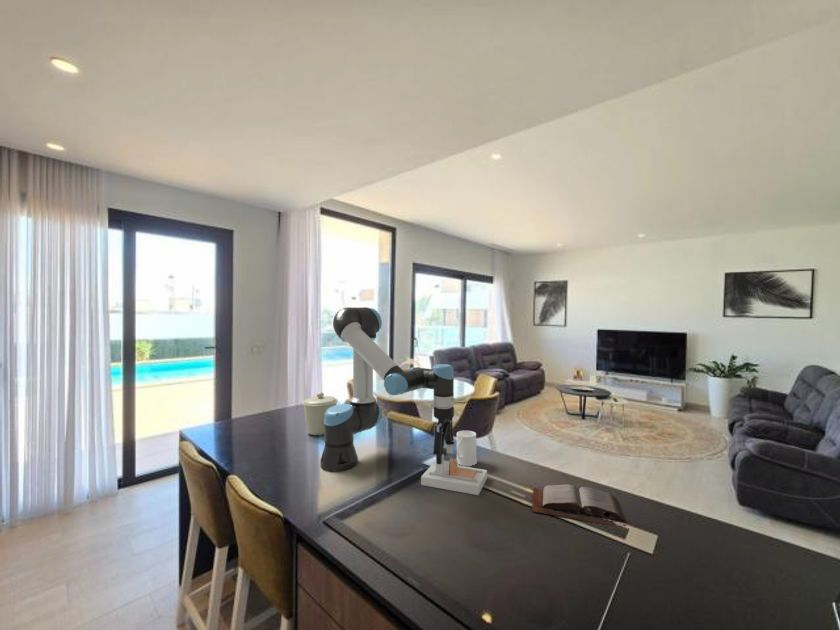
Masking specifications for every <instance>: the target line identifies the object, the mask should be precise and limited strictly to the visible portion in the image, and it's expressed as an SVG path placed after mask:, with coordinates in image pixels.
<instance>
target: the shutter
mask: <svg viewBox="0 0 840 630" xmlns="http://www.w3.org/2000/svg"><path fill="white" fill-rule="evenodd" d="M457 466H458V464H457V458H454V459H452V463H451V464H450V475H451V476H457V477H463V478H469V479H473V477H474V475H475V473H476V471H475V470H468V469H462V468H457Z"/></svg>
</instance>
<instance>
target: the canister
mask: <svg viewBox="0 0 840 630" xmlns="http://www.w3.org/2000/svg"><path fill="white" fill-rule="evenodd" d="M338 402H339V399H337V398H336V397H334V396H329V395H325V394H324V392H322V391H319V392H317V393H316V396H311V397H308V398H306V399H305V400H303V401H302V402H301V404H302V405H303V411H304V412H303V413H304V419H305V425H306V431H307V433H308V434H309V435H312V436H317V435H318V436H325V427H324V419H325V412H326V410H327V409H329V408H330V407H332V406H335V405H338V404H337V403H338Z"/></svg>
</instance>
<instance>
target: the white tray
mask: <svg viewBox="0 0 840 630" xmlns="http://www.w3.org/2000/svg"><path fill="white" fill-rule="evenodd" d="M457 468H462V469H468V470H475V471H476V473H475V475H474V477H473V479H469V478H463V477H457V476H451V475H445V474H439V473H436V461H434V462H433V463H432V464H431V465H429V467H428V469H427V470H426V471H425V472H424V473H423V474H422V475H421V476H420V485H421V486H425V487H431V488H437V489H442V490H446V491H447V490H448V491H452V492H458V493H464V494H470V495H474V496H480V493H481V491H482V490H483V487H484V485H485V483H486V481H487V479H488V470H487V469H482V468H475V467H471V466H461V465H457Z"/></svg>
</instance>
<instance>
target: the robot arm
mask: <svg viewBox="0 0 840 630" xmlns="http://www.w3.org/2000/svg"><path fill="white" fill-rule="evenodd" d="M332 320H333V321H332V327H333V329H334V332H335V334H336V336H338V338H339V339H340V340H341V341H342V342H344V343H348V344H349V345H350V347H351V348H352V350H353V353H352V354H353V357H352V358H353V359H352V360H353V363H352V364H353V365H352V367H353V369H352V370H353V371H352V372H353V373H352V375H353V380H352V384H353V385H352V386H353V388H352V389H353V390H352V392H353V394H352V397H351V398H350V399H349V403H342V404H337V405H335V406H332V407H330V408H329V409H327V410H326V412H325V419H324V427H325V435H324V448H323V451H322V454H321V458H320V468H321V469H322V470H324V471H327V472H343V471H346V470H347V471H348V470H350V469H352V468H354V467H356V466H357V465H358V463H359V457H358V456H359V455H358V454H357V450H356V447H355V444H354V435H356V434H358V433H361V432H364V431H368V430H371V429H372V428H374V427H376V426H377V425H379V423H380V422H381V419H382V413H383V412H382V407H381V405H380V403H379V402H378V401H377V398H376V397H375V396H374V371H375V373H376V374H377V375H379V377H381V379H382V380H383V386H384V390H385V391H386V392H387V394H389V395H390V396H397V395H398V396H399V395H403V394H406V393H409V392H413V391H416V390H420V389H428V390H432V391H433V417H434V418H435V419H436V420H437V424H436V425H435V426H434V441H433V453H432V455H435V462H436V472H439V473H444V454H443V448H446V449H447V453H452V454H453V446H454V445H455V441H454V439H455V438H454V429H453V427H454V426H453V419H454V417H455V407H454V406H455V404H454V403H455V401H456V399H455V398H454V397H455V396H454V395H455V394H454V393H455V392H454V390H455V389H454V383H455V382H454V381H455V376H454V366H452V365H451V364H447V363H439V364H434V366H433V368H424V367H420V366H417V367H415V366H414V367H410V368H409V369H408V370H404V369H402V368H401V367H400V366H399V365H398V364H397V363H396V361H394V360H393V359H392V358H391V357H390V356H389V355H388V354H387V353H386V352H385V351H384V350H383V349H382V348H381V347H380V346H379V345H378V344H377V343H376V342H375V340H376V339H377V333H379V332H380V330H381V328H382V326H383V321H382V317H381V315H380V313H379V312H378V311H377V310H376V309H375V308H373V307H365V306H364V307H349V306H348V307H343V308H341V309H340V310H338V311H337V312H336V313H335V315H334V317H333V319H332Z"/></svg>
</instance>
